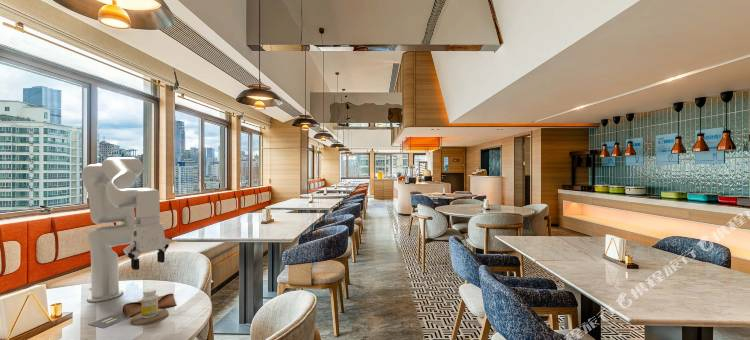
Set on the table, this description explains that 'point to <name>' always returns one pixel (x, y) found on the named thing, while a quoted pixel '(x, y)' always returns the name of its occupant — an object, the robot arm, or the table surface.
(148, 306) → the supplement bottle
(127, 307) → the sunglasses case
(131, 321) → the walnut coaster
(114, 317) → the gray tile
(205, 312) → the table surface
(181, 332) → the table surface
